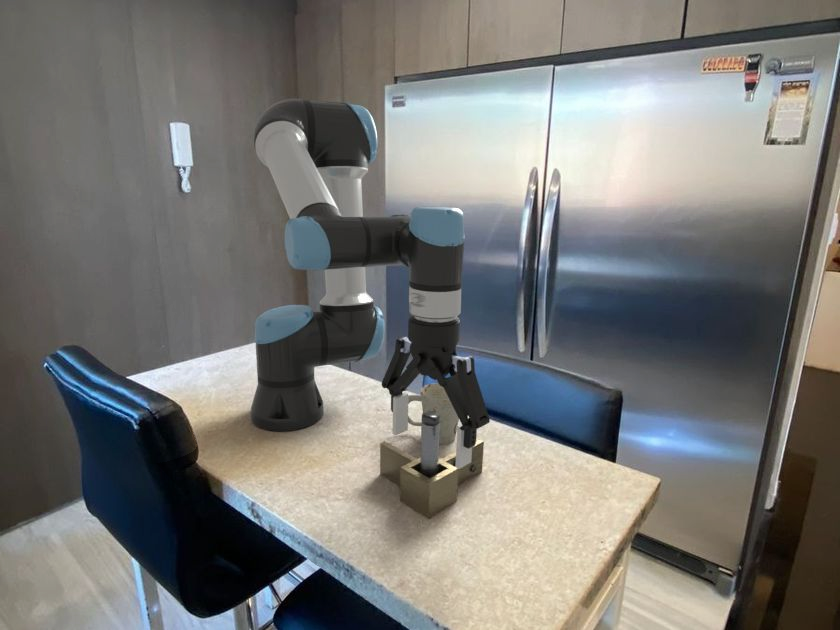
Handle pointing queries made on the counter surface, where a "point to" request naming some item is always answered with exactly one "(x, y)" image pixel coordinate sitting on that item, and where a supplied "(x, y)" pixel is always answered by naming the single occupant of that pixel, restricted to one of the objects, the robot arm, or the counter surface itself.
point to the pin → (430, 444)
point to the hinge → (425, 491)
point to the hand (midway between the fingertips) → (429, 447)
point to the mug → (437, 410)
